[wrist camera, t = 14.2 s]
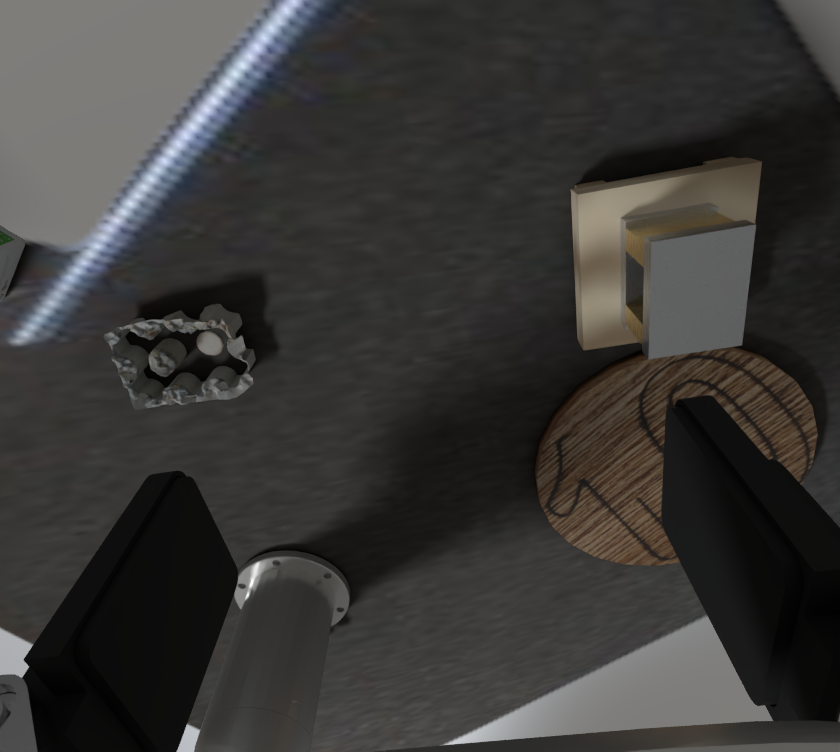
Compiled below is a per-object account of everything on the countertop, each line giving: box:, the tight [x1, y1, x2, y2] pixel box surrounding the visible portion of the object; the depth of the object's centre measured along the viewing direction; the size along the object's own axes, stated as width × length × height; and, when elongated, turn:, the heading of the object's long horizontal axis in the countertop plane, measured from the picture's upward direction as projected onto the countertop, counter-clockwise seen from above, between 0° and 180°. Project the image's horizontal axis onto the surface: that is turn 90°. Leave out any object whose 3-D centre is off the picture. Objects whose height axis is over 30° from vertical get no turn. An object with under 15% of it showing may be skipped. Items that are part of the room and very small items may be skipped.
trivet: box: [534, 346, 818, 566], centre depth 52 cm, size 25×25×2 cm
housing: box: [620, 203, 756, 359], centre depth 37 cm, size 6×8×6 cm
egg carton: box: [104, 304, 256, 410], centre depth 45 cm, size 11×8×4 cm
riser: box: [571, 157, 762, 350], centre depth 41 cm, size 12×12×3 cm
